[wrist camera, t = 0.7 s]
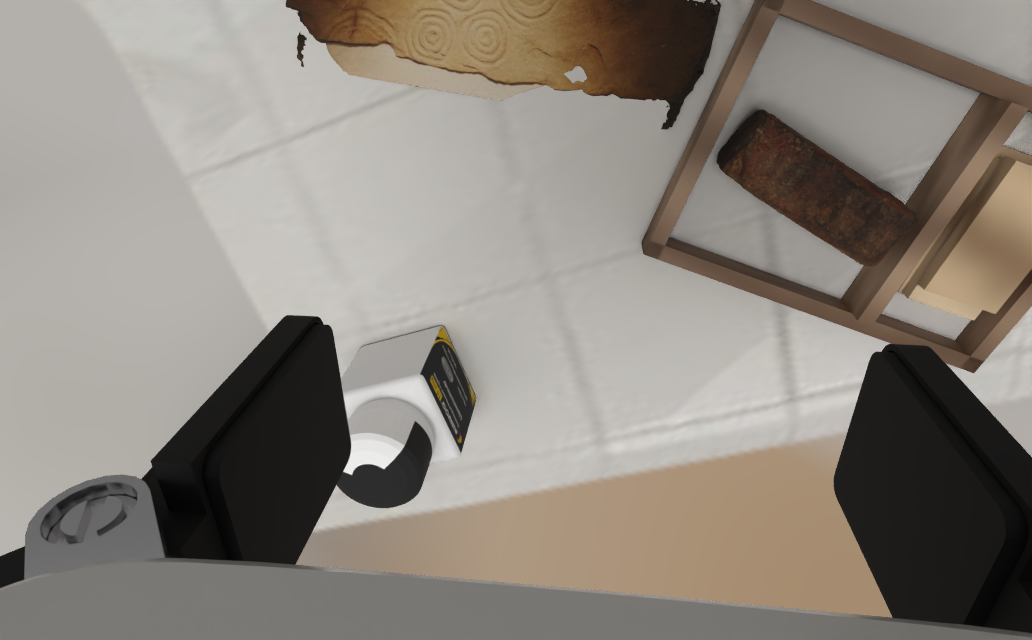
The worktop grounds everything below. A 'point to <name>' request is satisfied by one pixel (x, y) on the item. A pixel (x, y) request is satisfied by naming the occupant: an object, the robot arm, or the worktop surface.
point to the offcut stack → (980, 243)
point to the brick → (815, 189)
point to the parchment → (520, 44)
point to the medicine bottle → (403, 415)
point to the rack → (930, 202)
